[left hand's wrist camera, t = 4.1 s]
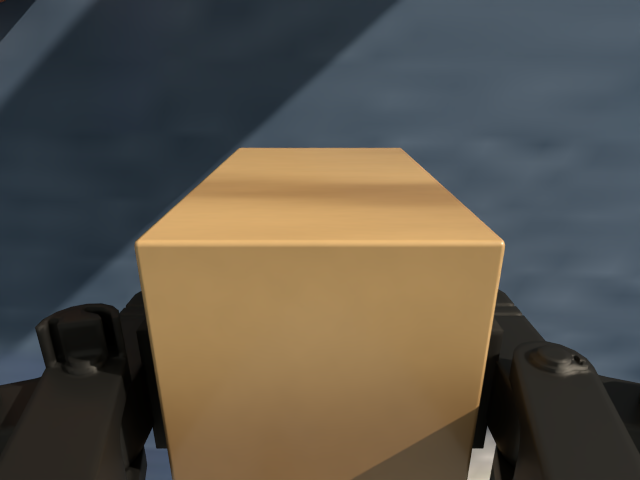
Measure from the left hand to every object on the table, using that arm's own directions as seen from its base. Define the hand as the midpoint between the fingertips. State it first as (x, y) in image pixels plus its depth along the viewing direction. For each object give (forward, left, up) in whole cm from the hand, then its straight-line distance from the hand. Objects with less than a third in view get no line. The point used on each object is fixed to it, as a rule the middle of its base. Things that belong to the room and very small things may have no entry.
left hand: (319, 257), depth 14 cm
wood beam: (0, +9, 0) cm, 10 cm away
